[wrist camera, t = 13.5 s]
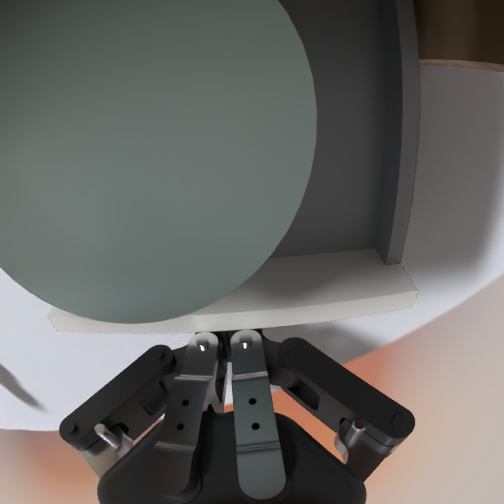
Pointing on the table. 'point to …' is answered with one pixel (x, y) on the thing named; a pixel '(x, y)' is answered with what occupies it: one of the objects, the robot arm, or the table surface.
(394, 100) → the drawer
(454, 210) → the table surface
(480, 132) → the table surface
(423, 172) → the table surface
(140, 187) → the pale green rounded part
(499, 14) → the open wooden cubby
